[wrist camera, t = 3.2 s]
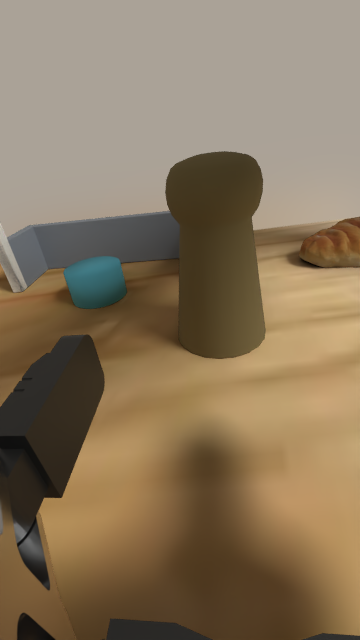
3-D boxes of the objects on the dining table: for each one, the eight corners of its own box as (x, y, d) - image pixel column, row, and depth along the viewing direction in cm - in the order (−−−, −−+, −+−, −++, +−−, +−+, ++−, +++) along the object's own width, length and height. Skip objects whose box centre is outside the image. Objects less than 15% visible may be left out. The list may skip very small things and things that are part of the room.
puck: (132, 283, 31) (125, 254, 29) (119, 307, 26) (111, 275, 25) (84, 286, 31) (75, 258, 30) (65, 311, 27) (53, 280, 25)
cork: (183, 310, 24) (164, 155, 19) (261, 308, 23) (266, 143, 18) (171, 358, 19) (139, 167, 14) (270, 358, 18) (280, 150, 13)
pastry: (322, 280, 27) (328, 236, 25) (285, 255, 32) (287, 219, 30) (419, 261, 28) (432, 217, 26) (366, 240, 33) (374, 204, 31)
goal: (207, 252, 35) (202, 187, 31) (206, 278, 29) (201, 201, 25) (44, 266, 38) (22, 207, 34) (13, 292, 32) (-17, 224, 28)
